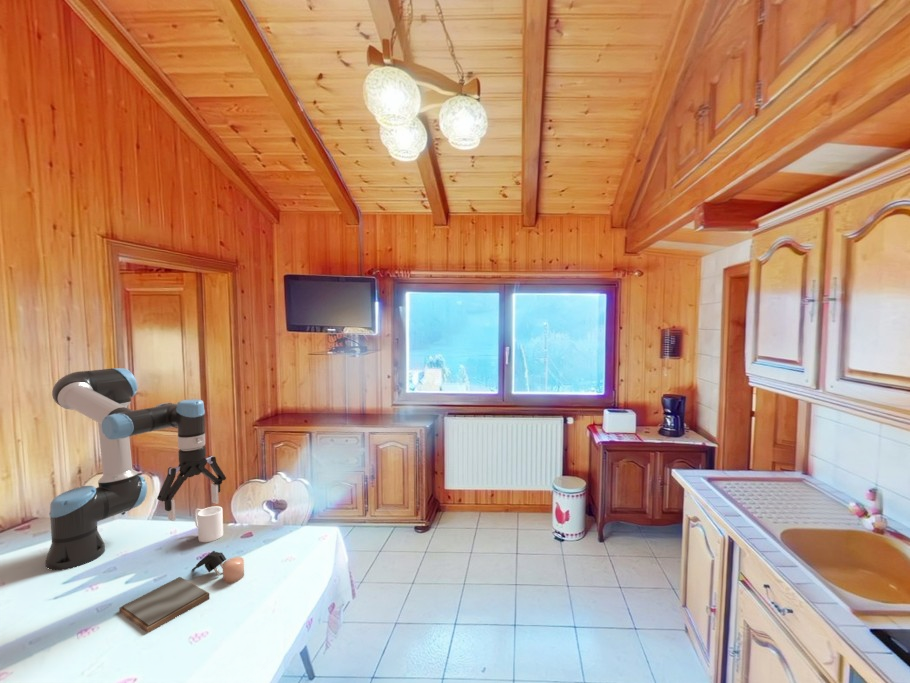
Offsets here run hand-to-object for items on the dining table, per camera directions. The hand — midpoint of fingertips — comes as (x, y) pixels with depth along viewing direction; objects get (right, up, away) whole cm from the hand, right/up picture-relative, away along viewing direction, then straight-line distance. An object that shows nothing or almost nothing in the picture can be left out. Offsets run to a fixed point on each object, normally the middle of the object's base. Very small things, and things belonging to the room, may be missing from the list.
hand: (194, 511), depth 134 cm
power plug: (0, -23, +1) cm, 23 cm away
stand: (+2, -21, -16) cm, 27 cm away
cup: (-10, -20, +24) cm, 32 cm away
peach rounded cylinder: (+14, -21, -2) cm, 25 cm away
